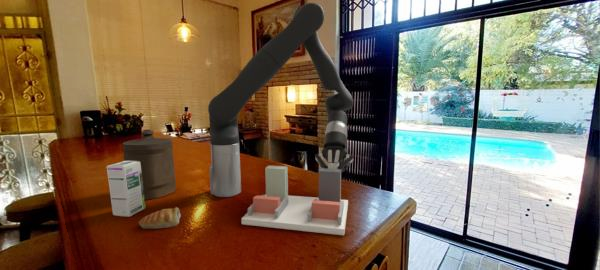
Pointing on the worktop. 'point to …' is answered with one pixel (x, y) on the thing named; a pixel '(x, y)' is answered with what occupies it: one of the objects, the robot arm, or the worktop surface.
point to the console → (298, 214)
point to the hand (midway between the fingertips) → (331, 182)
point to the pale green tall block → (276, 181)
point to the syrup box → (126, 188)
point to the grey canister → (153, 163)
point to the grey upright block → (330, 185)
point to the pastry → (161, 219)
